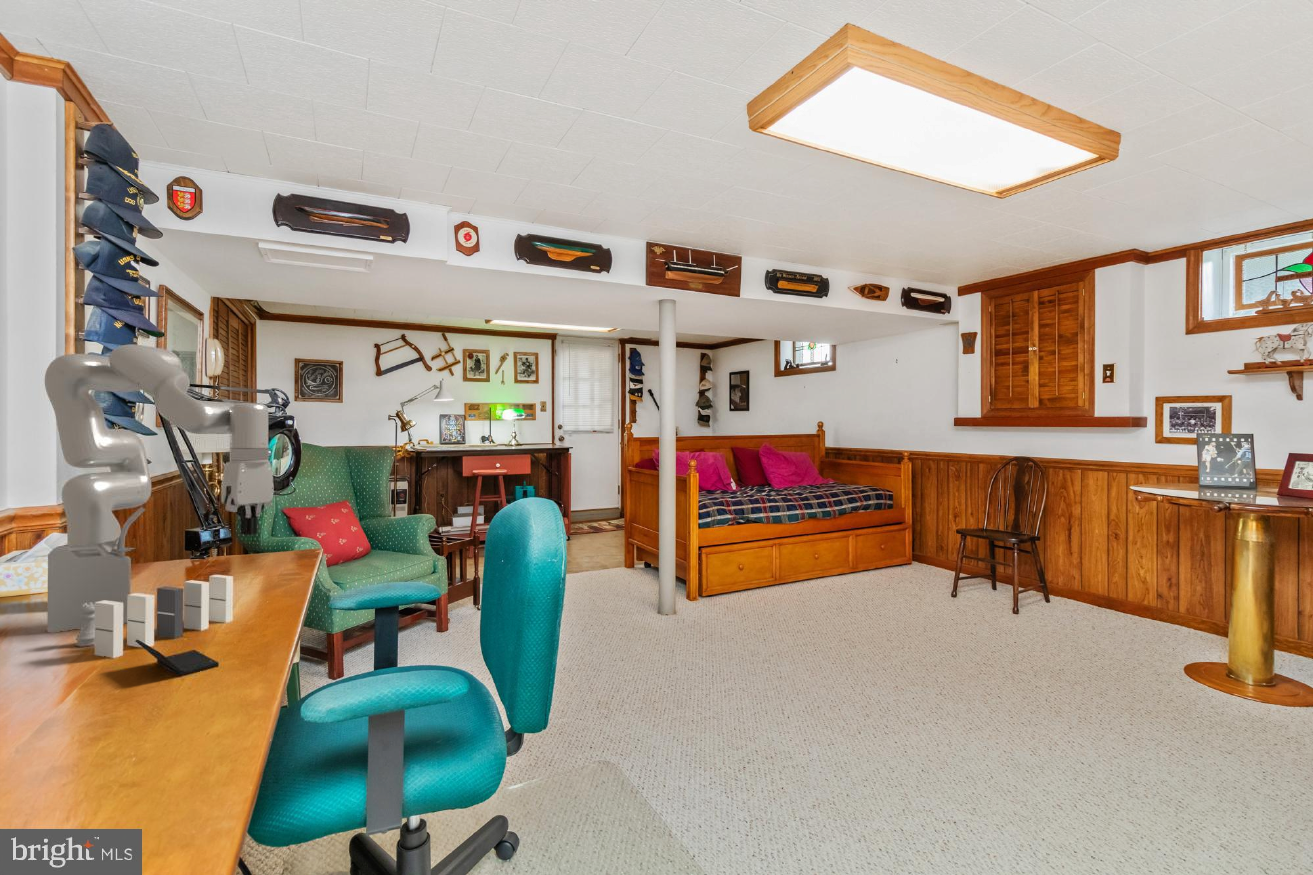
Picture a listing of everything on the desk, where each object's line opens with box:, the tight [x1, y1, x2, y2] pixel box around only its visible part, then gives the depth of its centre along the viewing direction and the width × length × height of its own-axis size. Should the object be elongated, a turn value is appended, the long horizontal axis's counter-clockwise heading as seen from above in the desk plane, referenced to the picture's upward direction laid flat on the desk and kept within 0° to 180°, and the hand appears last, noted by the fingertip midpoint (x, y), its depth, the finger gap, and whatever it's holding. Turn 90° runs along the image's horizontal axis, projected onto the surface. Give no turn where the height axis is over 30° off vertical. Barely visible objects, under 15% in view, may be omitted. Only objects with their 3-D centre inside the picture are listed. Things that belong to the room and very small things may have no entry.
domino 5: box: [208, 574, 234, 624], centre depth 136 cm, size 2×5×10 cm, turn 74°
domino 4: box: [183, 579, 210, 632], centre depth 131 cm, size 2×5×10 cm, turn 74°
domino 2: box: [126, 592, 156, 649], centre depth 121 cm, size 2×5×10 cm, turn 74°
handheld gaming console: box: [135, 639, 220, 678], centre depth 110 cm, size 12×7×10 cm
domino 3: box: [156, 585, 184, 640], centre depth 126 cm, size 2×5×10 cm, turn 74°
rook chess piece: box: [75, 602, 95, 648], centre depth 121 cm, size 4×4×8 cm
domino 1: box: [94, 600, 124, 659], centre depth 115 cm, size 2×5×10 cm, turn 74°
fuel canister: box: [46, 507, 147, 634], centre depth 133 cm, size 15×5×25 cm, turn 127°
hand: (249, 533), depth 142 cm, fingers closed
